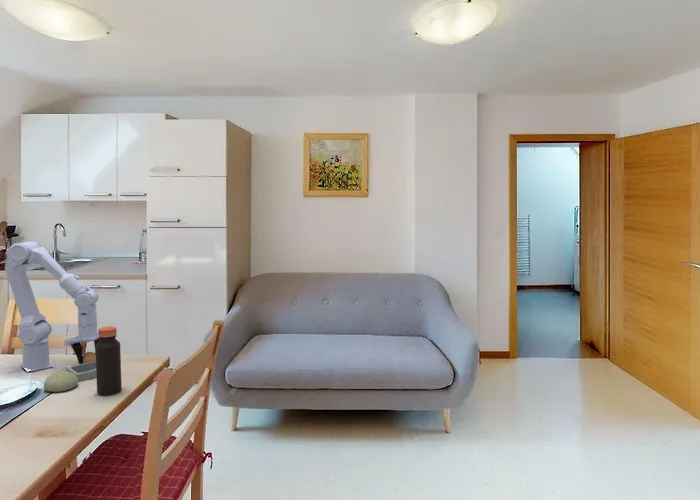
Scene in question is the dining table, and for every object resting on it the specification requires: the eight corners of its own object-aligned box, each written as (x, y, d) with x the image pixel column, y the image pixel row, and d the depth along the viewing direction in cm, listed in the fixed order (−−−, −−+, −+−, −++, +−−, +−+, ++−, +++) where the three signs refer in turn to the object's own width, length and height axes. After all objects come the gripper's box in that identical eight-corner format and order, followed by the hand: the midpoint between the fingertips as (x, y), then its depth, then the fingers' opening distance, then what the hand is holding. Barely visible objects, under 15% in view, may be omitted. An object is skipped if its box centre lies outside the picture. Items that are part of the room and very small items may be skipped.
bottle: (110, 385, 149) (108, 324, 147) (126, 389, 147) (124, 326, 145) (91, 393, 143) (89, 329, 141) (108, 397, 140) (106, 332, 138)
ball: (79, 365, 166) (78, 352, 166) (94, 362, 170) (93, 349, 169) (84, 369, 163) (83, 355, 162) (99, 365, 167) (98, 352, 166)
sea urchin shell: (64, 389, 141) (48, 369, 142) (49, 405, 143) (33, 385, 143) (87, 378, 150) (71, 359, 151) (73, 393, 152) (57, 375, 152)
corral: (66, 374, 158) (66, 367, 158) (100, 366, 166) (99, 359, 165) (76, 382, 151) (76, 374, 151) (111, 373, 159) (110, 366, 159)
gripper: (68, 330, 157) (70, 369, 158) (113, 322, 168) (114, 359, 169) (61, 326, 162) (63, 364, 163) (105, 318, 172) (107, 354, 174)
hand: (89, 361), depth 166 cm, fingers closed on ball, 5 cm apart
